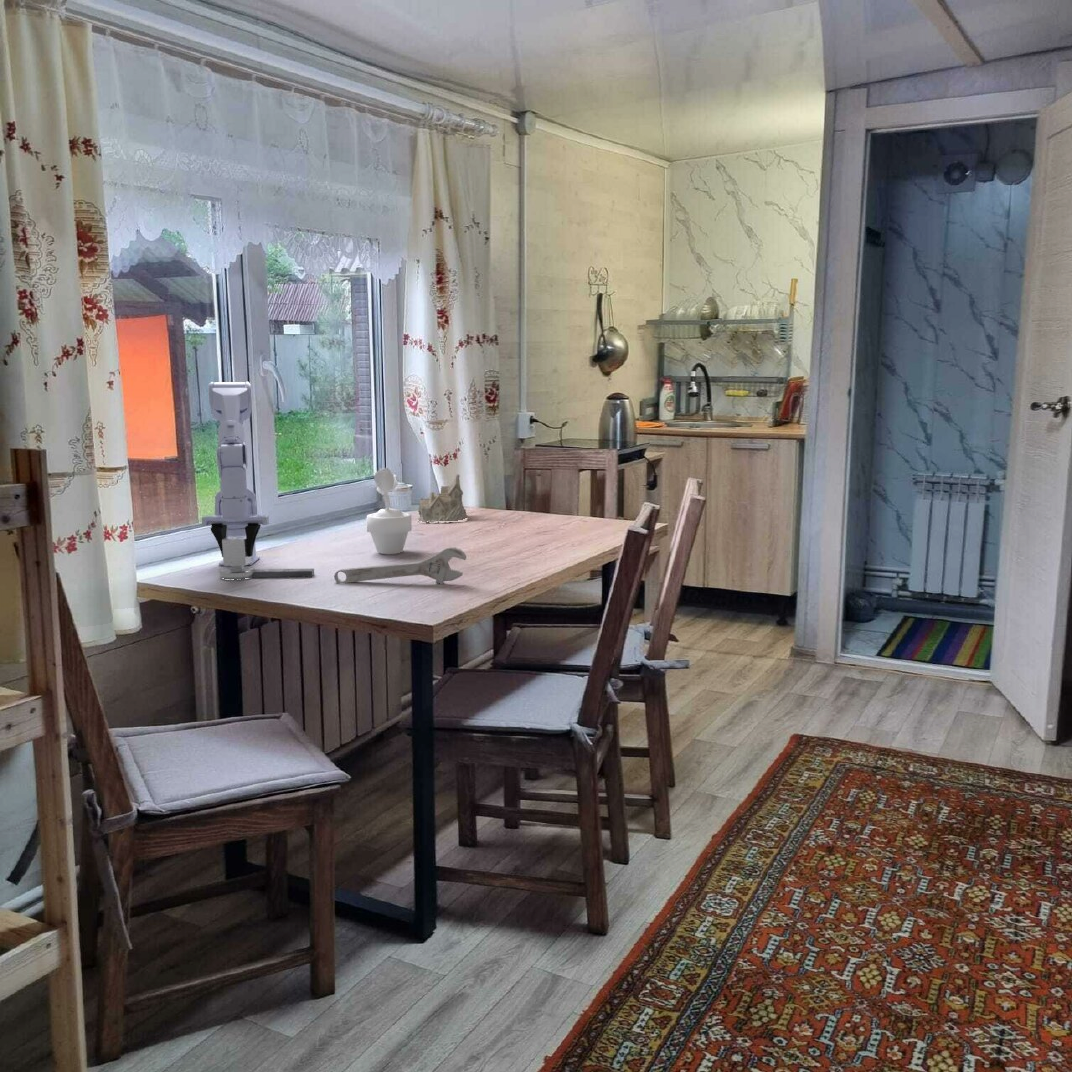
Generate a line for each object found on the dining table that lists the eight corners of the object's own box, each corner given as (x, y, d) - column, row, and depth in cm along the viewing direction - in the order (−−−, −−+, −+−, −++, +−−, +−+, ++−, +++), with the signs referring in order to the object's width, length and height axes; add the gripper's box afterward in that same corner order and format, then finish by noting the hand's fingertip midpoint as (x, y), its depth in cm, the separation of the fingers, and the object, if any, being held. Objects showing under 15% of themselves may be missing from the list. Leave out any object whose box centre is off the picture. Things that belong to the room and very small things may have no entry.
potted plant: (404, 557, 254) (402, 458, 250) (360, 555, 257) (357, 457, 253) (420, 548, 267) (418, 453, 262) (378, 547, 269) (375, 453, 265)
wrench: (339, 594, 227) (469, 581, 224) (336, 595, 226) (468, 582, 222) (333, 559, 226) (465, 545, 223) (331, 560, 224) (463, 547, 221)
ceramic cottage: (467, 515, 325) (464, 469, 322) (468, 525, 309) (465, 476, 306) (419, 519, 324) (415, 472, 321) (417, 529, 308) (413, 480, 305)
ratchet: (225, 573, 236) (224, 552, 235) (316, 572, 236) (315, 551, 236) (216, 580, 228) (214, 559, 227) (310, 579, 229) (309, 558, 228)
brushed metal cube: (229, 561, 234) (228, 535, 233) (251, 561, 234) (250, 535, 233) (223, 565, 229) (221, 539, 228) (245, 565, 229) (244, 539, 228)
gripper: (196, 499, 224) (200, 559, 227) (262, 499, 225) (265, 558, 227) (205, 495, 231) (208, 554, 234) (269, 495, 232) (272, 553, 234)
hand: (237, 556), depth 231 cm, fingers closed on brushed metal cube, 5 cm apart
